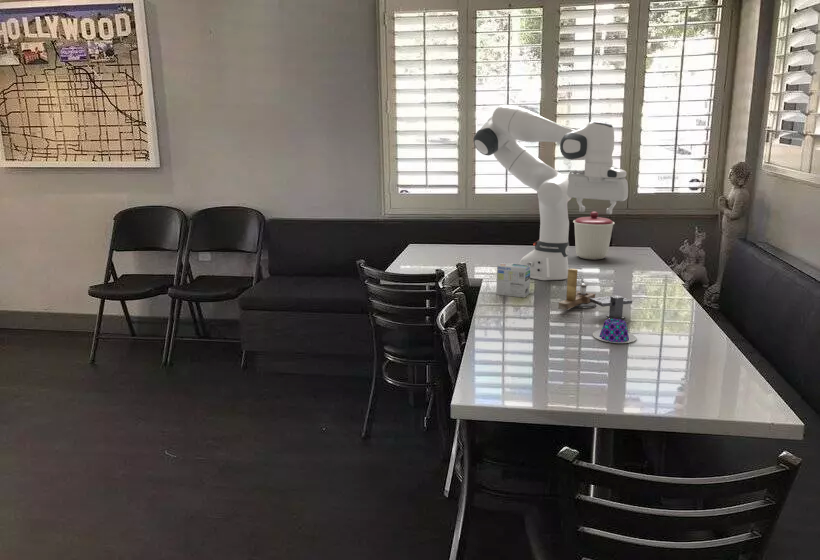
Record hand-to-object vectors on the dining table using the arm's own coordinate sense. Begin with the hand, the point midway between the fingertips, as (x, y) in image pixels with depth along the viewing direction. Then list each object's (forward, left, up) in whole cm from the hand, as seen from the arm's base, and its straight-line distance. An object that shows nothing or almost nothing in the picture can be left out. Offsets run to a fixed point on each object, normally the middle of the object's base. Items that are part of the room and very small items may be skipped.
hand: (595, 212), depth 223 cm
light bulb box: (-25, -10, -30) cm, 40 cm away
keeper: (+13, -18, -30) cm, 37 cm away
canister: (-24, +71, -30) cm, 81 cm away
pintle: (+1, -9, -30) cm, 31 cm away
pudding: (+21, -38, -31) cm, 53 cm away
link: (0, -15, -28) cm, 32 cm away
